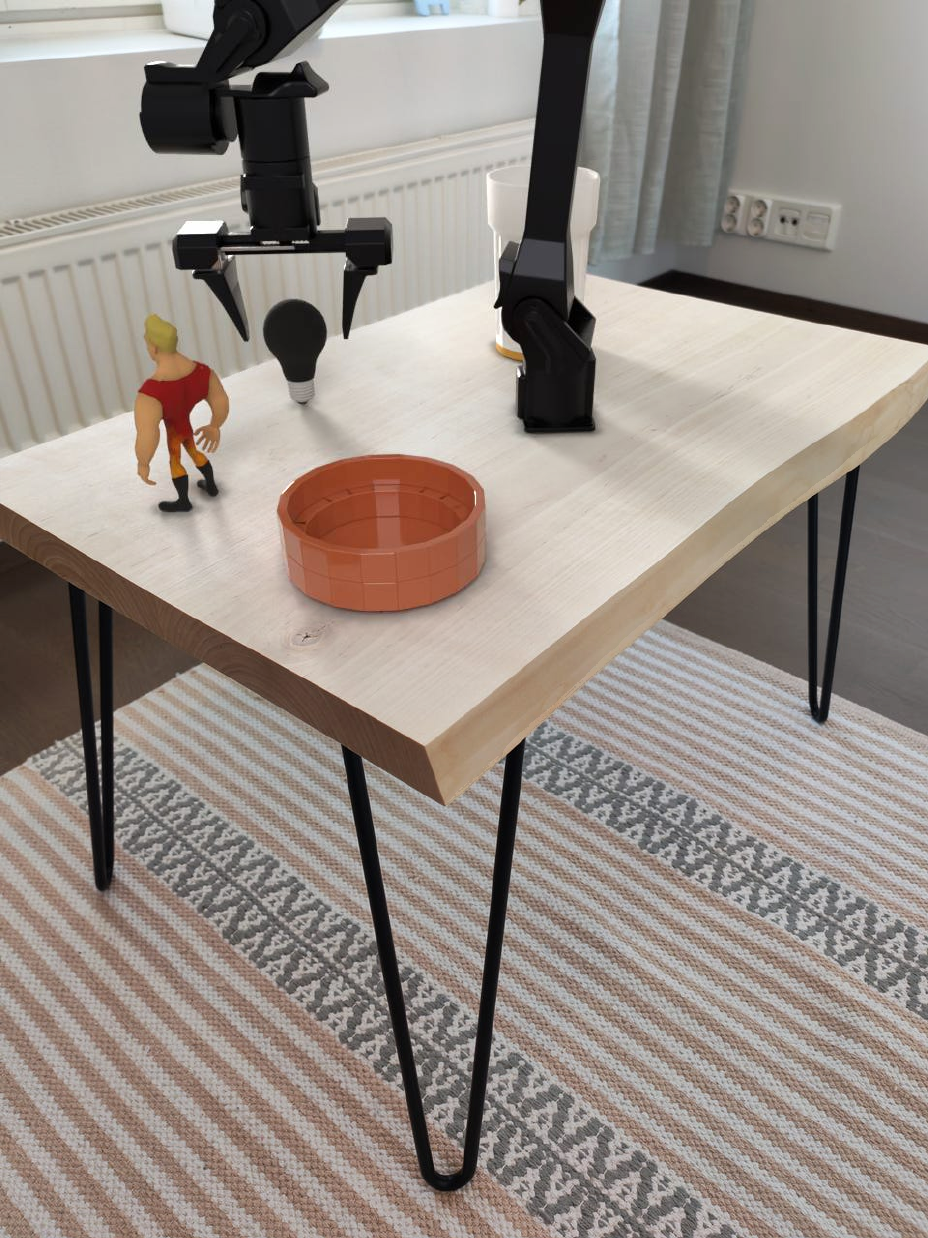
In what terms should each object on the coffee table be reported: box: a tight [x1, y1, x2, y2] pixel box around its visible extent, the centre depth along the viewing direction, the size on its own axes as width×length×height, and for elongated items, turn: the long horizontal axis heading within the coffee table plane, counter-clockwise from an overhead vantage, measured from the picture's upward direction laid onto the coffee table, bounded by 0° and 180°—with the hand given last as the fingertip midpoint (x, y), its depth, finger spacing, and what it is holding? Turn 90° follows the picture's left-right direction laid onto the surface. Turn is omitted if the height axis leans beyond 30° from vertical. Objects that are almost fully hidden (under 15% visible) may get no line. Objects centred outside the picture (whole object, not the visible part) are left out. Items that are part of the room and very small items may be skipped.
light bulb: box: [262, 298, 328, 406], centre depth 92 cm, size 6×6×10 cm
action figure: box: [133, 313, 230, 513], centre depth 75 cm, size 10×4×15 cm, turn 149°
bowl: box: [276, 453, 487, 612], centre depth 70 cm, size 14×14×5 cm
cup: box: [486, 163, 601, 362], centre depth 101 cm, size 11×11×17 cm
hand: (296, 338), depth 91 cm, fingers open, 9 cm apart
